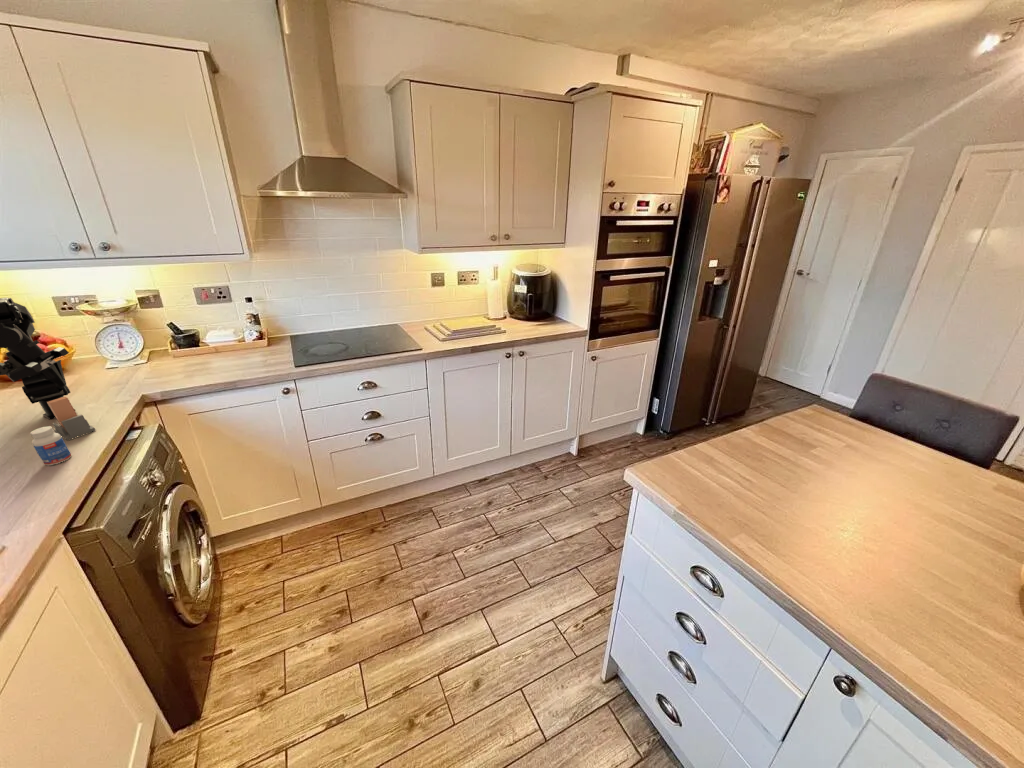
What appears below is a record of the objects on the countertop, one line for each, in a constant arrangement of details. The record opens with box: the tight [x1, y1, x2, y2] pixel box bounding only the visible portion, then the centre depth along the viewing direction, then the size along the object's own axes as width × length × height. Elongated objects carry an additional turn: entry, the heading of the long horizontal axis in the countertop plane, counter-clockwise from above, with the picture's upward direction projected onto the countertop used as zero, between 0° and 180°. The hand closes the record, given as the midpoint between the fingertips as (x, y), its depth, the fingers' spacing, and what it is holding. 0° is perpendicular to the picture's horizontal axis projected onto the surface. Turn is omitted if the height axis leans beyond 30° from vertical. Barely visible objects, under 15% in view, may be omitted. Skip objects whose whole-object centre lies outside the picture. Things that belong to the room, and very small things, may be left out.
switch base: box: [51, 414, 96, 441], centre depth 125 cm, size 10×6×6 cm, turn 62°
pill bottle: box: [30, 425, 72, 466], centre depth 111 cm, size 6×5×10 cm
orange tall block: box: [47, 396, 79, 432], centre depth 124 cm, size 2×4×10 cm, turn 151°
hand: (64, 385), depth 129 cm, fingers closed
